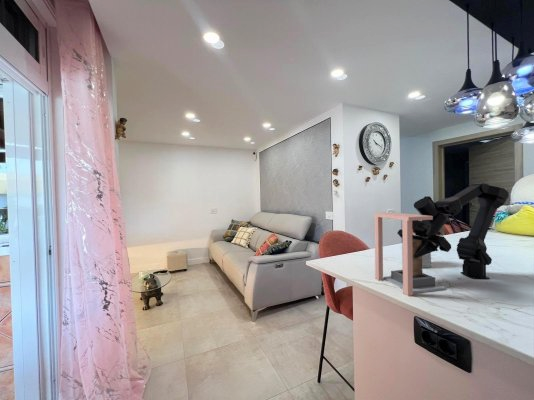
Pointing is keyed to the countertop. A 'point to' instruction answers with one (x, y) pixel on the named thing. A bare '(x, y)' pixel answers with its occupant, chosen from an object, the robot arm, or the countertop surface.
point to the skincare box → (426, 260)
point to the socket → (415, 282)
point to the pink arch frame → (407, 246)
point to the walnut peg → (416, 261)
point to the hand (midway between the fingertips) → (409, 255)
